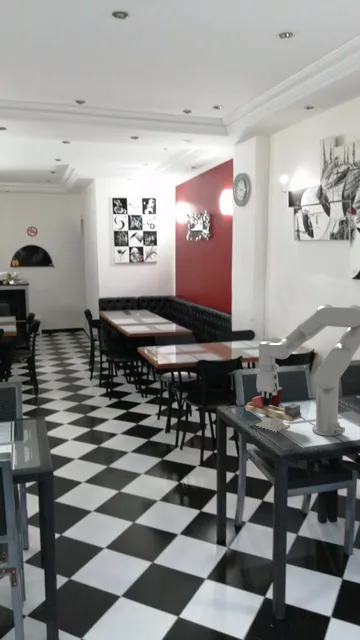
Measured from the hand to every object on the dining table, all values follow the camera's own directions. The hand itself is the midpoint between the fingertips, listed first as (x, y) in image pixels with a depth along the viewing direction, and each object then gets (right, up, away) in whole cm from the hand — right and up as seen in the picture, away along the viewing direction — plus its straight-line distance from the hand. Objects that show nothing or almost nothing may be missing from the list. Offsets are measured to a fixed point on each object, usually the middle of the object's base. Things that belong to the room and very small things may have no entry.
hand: (266, 405), depth 244 cm
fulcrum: (+2, -10, -1) cm, 10 cm away
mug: (+9, -6, +30) cm, 31 cm away
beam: (+2, -4, -2) cm, 5 cm away
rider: (-2, -1, +3) cm, 4 cm away
